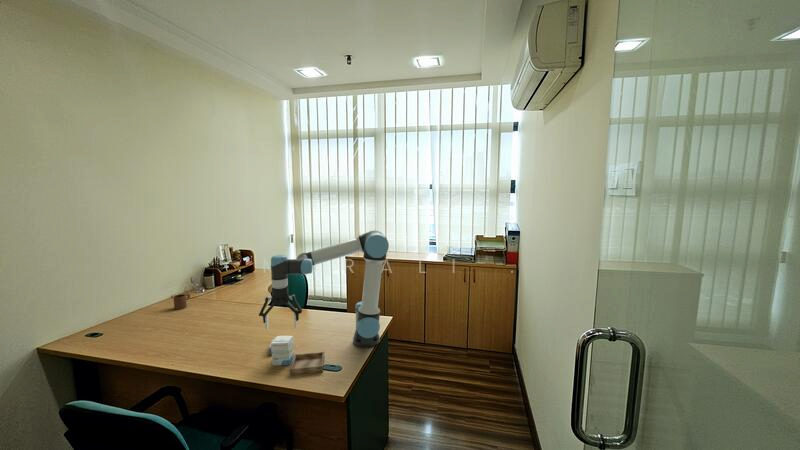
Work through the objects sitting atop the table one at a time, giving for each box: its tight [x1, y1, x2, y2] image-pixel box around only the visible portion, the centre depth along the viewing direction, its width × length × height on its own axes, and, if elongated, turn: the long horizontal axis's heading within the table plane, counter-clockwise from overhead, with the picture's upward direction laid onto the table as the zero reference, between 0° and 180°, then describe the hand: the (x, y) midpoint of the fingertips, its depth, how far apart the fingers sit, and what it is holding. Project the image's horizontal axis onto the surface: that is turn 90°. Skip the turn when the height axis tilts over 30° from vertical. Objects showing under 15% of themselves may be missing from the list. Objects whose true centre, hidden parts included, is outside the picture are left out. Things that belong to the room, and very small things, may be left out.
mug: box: [173, 292, 191, 311], centre depth 233 cm, size 12×8×9 cm, turn 167°
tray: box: [290, 351, 325, 376], centre depth 154 cm, size 15×14×3 cm
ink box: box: [270, 335, 295, 366], centre depth 158 cm, size 9×8×12 cm
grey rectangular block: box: [268, 338, 275, 355], centre depth 170 cm, size 10×4×4 cm, turn 10°
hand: (281, 327), depth 157 cm, fingers open, 13 cm apart
